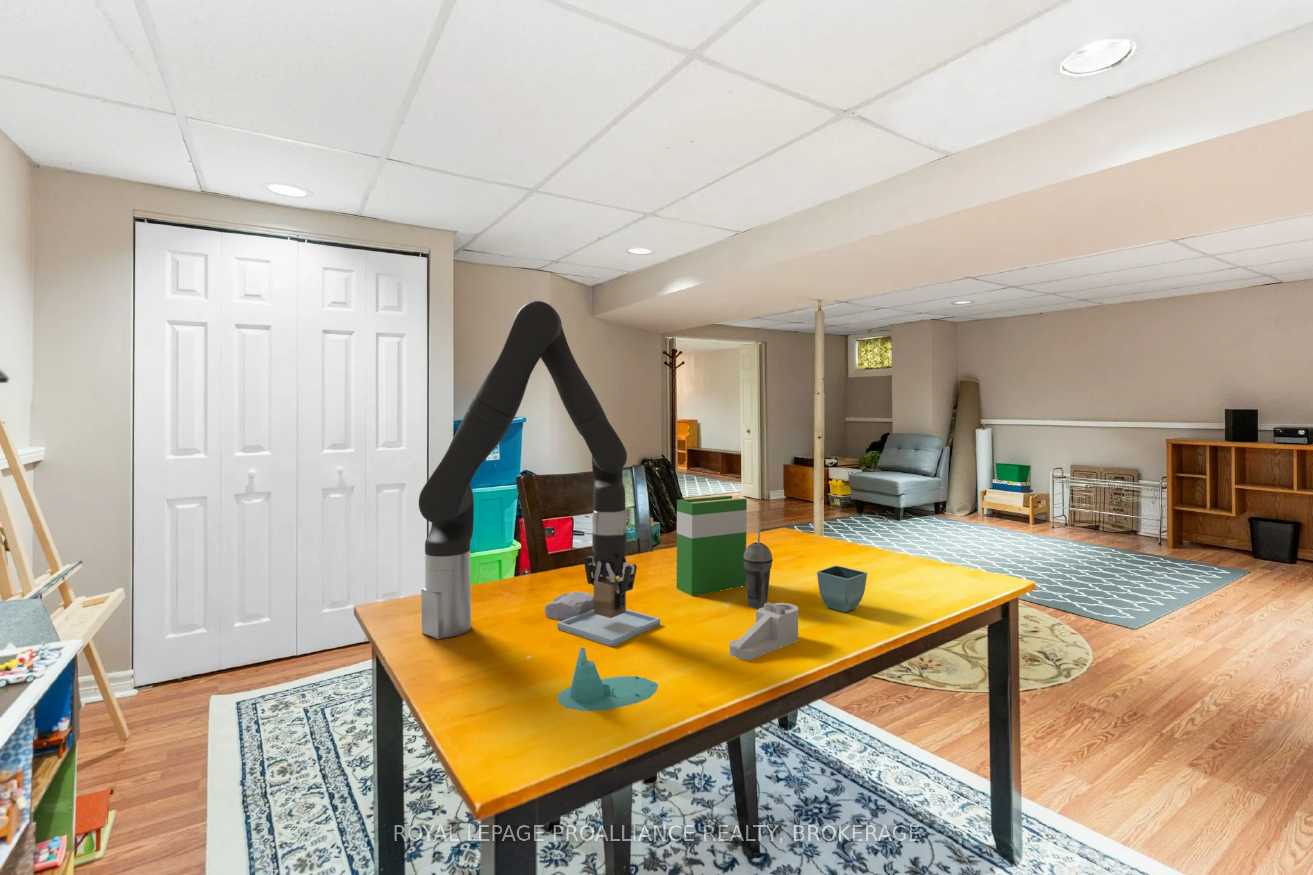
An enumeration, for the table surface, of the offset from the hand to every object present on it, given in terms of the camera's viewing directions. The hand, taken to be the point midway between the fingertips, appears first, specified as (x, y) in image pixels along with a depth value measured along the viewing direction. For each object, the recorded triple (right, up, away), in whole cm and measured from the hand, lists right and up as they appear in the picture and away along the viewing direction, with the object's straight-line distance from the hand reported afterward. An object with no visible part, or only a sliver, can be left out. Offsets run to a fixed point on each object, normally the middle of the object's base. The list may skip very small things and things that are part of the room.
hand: (609, 606), depth 131 cm
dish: (0, -5, 0) cm, 5 cm away
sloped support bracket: (+32, -6, -10) cm, 34 cm away
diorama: (+2, -6, -30) cm, 31 cm away
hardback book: (+25, -4, +30) cm, 39 cm away
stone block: (-10, -5, +10) cm, 15 cm away
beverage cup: (+35, -4, +15) cm, 38 cm away
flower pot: (+55, -4, +13) cm, 57 cm away
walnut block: (0, -1, 0) cm, 1 cm away
